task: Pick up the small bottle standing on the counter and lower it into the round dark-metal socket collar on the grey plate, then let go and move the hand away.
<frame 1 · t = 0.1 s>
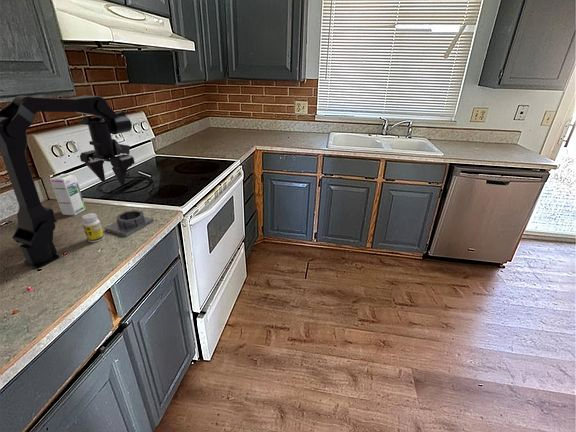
hand: (113, 183, 108), 15 cm above the worktop, tool pointing down, fingers open, 9 cm apart
syrup box: (74, 212, 121), on the worktop
socket plate: (130, 226, 111), on the worktop
supplement bottle: (96, 239, 103), on the worktop
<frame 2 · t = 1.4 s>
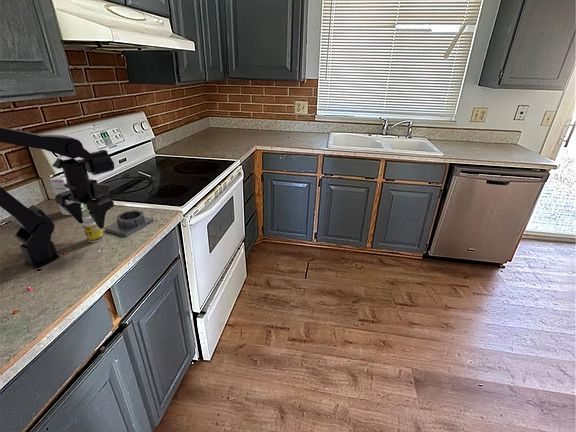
hand: (91, 225, 101), 5 cm above the worktop, tool pointing down, fingers open, 9 cm apart
nothing on the worktop moved.
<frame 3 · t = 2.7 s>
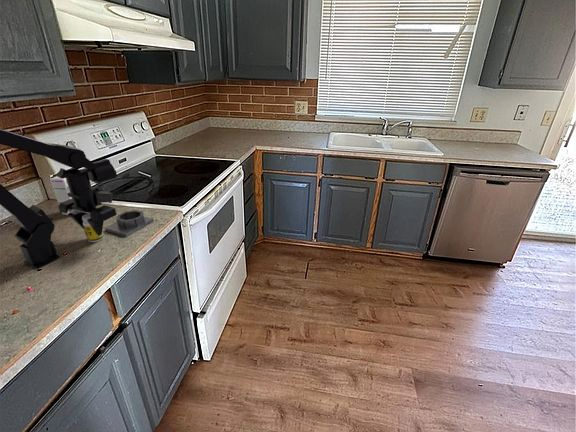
hand: (94, 233, 102), 2 cm above the worktop, tool pointing down, fingers closed on supplement bottle, 5 cm apart
supplement bottle: (96, 239, 103), on the worktop, touching gripper
everything else where it was.
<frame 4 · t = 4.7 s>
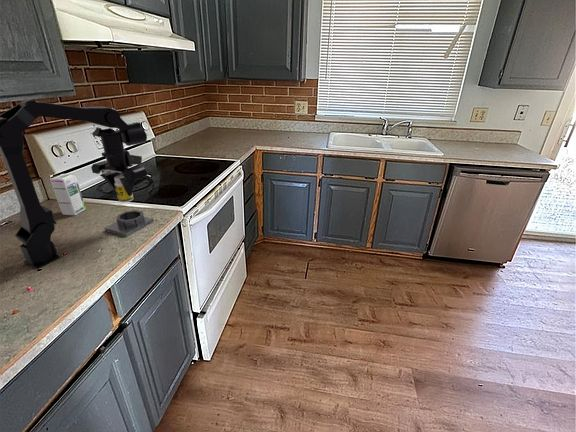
hand: (124, 194, 107), 12 cm above the worktop, tool pointing down, fingers closed on supplement bottle, 5 cm apart
supplement bottle: (126, 200, 108), point 9 cm above the worktop, touching gripper
everything else where it was.
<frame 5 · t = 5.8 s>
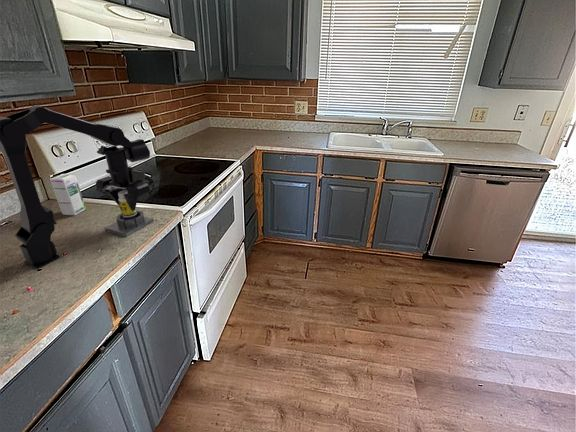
hand: (128, 209, 109), 6 cm above the worktop, tool pointing down, fingers closed on supplement bottle, 5 cm apart
supplement bottle: (129, 215, 110), point 4 cm above the worktop, touching gripper
everything else where it was.
when the fingers open (4 cm above the worktop, at t = 6.7 s): supplement bottle stays where it is, resting on socket plate.
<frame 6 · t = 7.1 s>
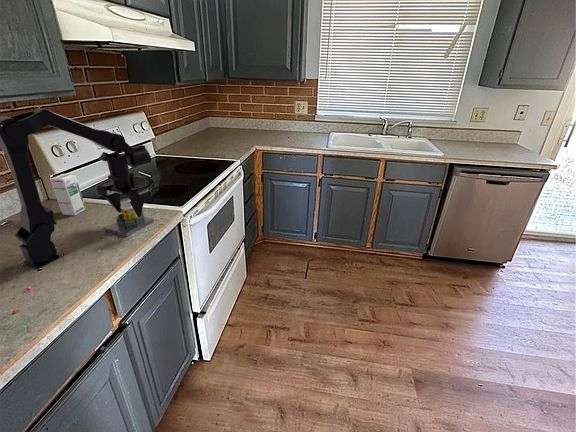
hand: (129, 214, 110), 4 cm above the worktop, tool pointing down, fingers open, 9 cm apart
supplement bottle: (131, 222, 111), point 1 cm above the worktop, touching socket plate
everything else where it was.
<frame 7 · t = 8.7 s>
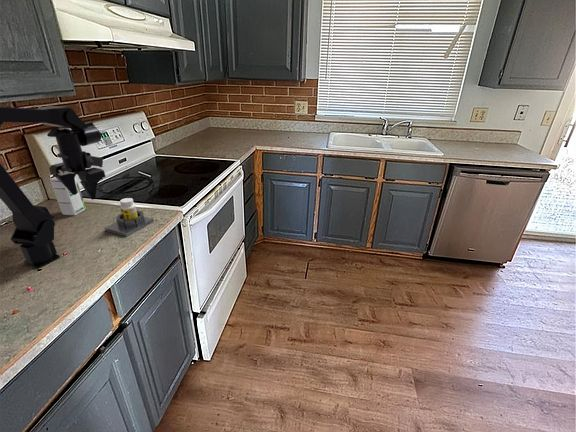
hand: (84, 196, 103), 12 cm above the worktop, tool pointing down, fingers open, 9 cm apart
nothing on the worktop moved.
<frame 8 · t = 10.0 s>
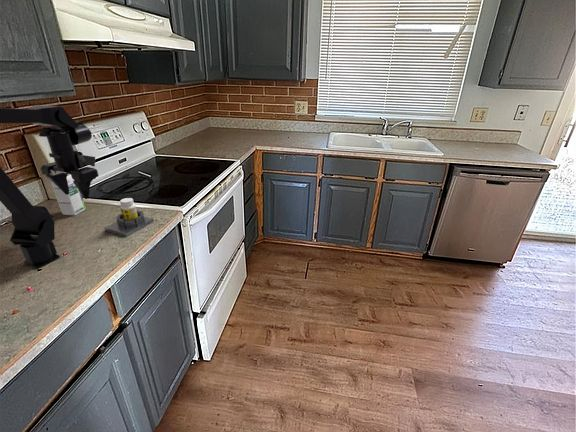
hand: (77, 196, 103), 13 cm above the worktop, tool pointing down, fingers open, 9 cm apart
nothing on the worktop moved.
at the end: supplement bottle 0.1 cm from the target spot on the socket plate, point 1.0 cm above the socket plate's base; supplement bottle tilted 0°; the gripper is holding nothing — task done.
